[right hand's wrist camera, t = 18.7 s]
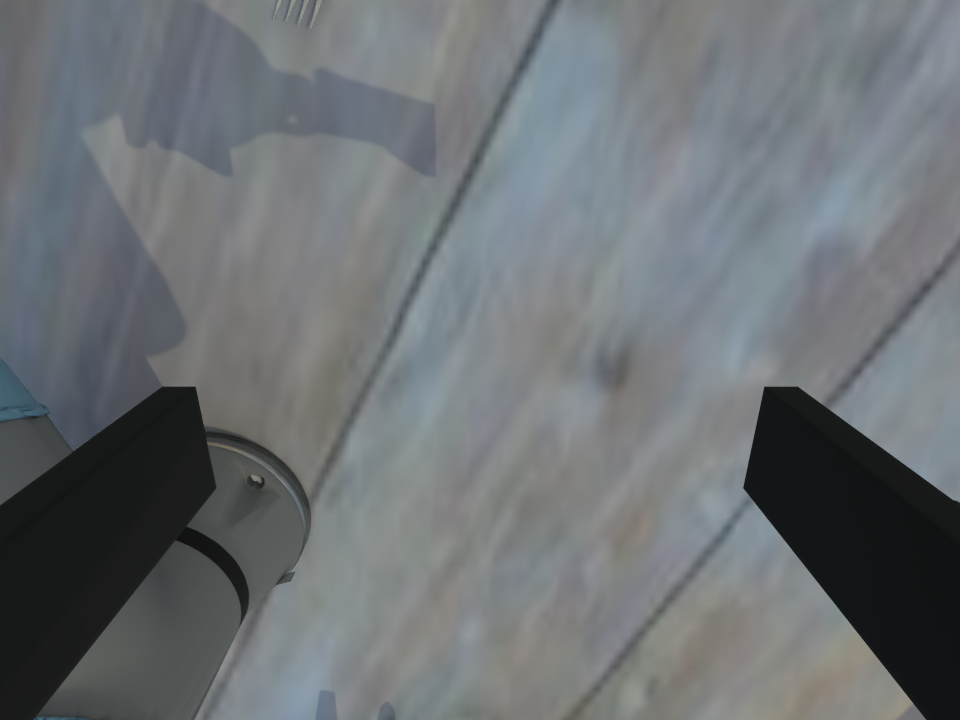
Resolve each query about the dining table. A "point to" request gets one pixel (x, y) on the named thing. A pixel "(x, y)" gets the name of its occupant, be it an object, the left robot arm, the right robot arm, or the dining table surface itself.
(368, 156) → the dining table surface
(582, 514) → the dining table surface
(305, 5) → the fork
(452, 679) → the dining table surface
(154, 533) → the right robot arm
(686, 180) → the dining table surface
